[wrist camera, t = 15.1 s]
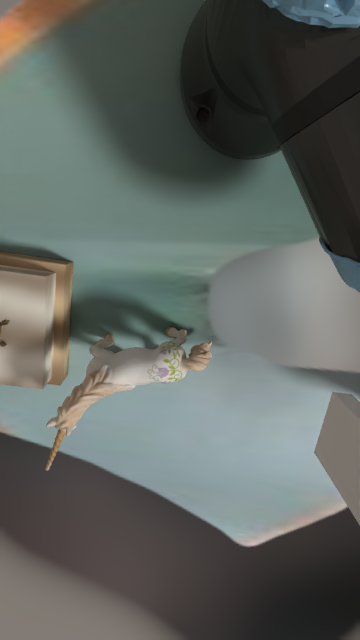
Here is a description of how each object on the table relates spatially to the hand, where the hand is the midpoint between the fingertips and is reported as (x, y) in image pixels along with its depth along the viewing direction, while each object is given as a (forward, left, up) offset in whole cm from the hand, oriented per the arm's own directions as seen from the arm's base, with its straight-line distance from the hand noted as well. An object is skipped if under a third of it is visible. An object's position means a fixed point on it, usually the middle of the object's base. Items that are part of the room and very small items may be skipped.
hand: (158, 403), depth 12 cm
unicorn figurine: (+12, -2, -29) cm, 31 cm away
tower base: (+7, -19, -29) cm, 35 cm away
